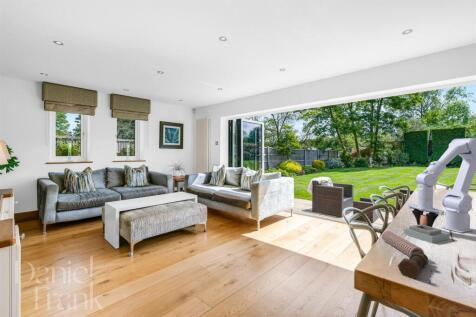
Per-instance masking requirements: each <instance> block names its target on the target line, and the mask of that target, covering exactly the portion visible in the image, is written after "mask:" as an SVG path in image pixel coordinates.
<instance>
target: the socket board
mask: <svg viewBox="0 0 476 317" xmlns="http://www.w3.org/2000/svg"><path fill="white" fill-rule="evenodd" d="M404 235H406V236H408V237H412V238H415V239H418V240H421V241H423V242H427V243H429V244H434V243H435V244H436V243H438V242H443V241H448V240H450V236H451V234H450V233H449V232H445V231H442V229H440V228H437V227H433V226H432V227H429V226H426V225H422V224H420V225H417V224H415V225H411V226H409V227H407V228H404Z"/></svg>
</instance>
